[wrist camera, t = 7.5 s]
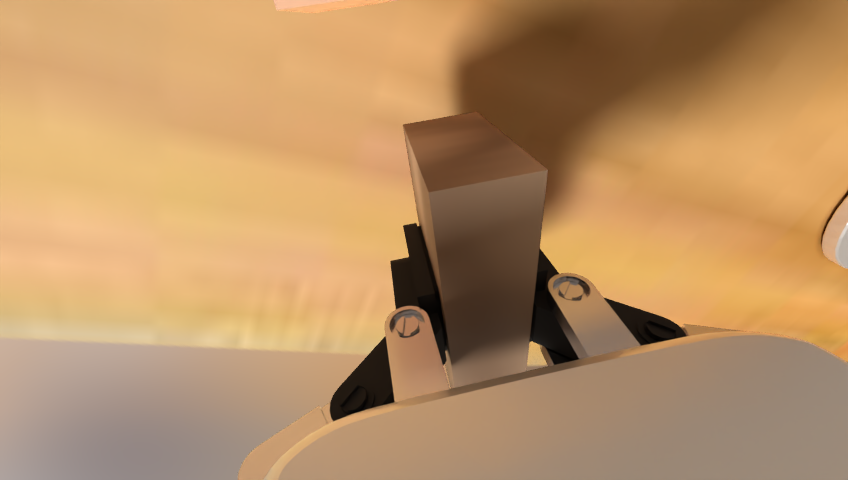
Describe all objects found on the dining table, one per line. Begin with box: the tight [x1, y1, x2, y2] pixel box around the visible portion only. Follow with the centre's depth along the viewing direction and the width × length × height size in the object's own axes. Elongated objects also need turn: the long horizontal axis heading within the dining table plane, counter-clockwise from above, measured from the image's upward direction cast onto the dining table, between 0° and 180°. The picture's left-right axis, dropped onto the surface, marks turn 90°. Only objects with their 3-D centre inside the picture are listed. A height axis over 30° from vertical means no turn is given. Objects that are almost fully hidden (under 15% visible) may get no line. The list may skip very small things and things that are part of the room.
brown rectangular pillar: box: [403, 112, 548, 388], centre depth 11 cm, size 2×10×5 cm, turn 7°
